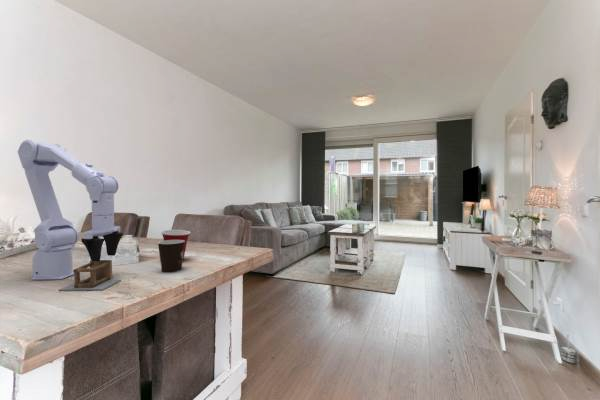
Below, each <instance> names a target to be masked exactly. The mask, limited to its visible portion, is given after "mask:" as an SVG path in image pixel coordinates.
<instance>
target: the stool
mask: <svg viewBox="0 0 600 400" xmlns="http://www.w3.org/2000/svg"><path fill="white" fill-rule="evenodd" d="M73 272H74V275H73V276H74V279H73V280H74V283H75V285H74V287H75V288H77V287H91V288H93V287H95V286H96V285H98V284H100V283H102V282H104V281H106V280H113V262H112V259H100V261H91V260H89V262H88V263H87V264H84V265H81V266H79V267H76V268H74V269H73ZM81 273H89V276H90V277H88V278H86V279H82V280H83V281H81V282H80V280H81ZM96 280H98V281H97V282H96ZM89 281H91V283H87V282H89Z"/></svg>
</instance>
